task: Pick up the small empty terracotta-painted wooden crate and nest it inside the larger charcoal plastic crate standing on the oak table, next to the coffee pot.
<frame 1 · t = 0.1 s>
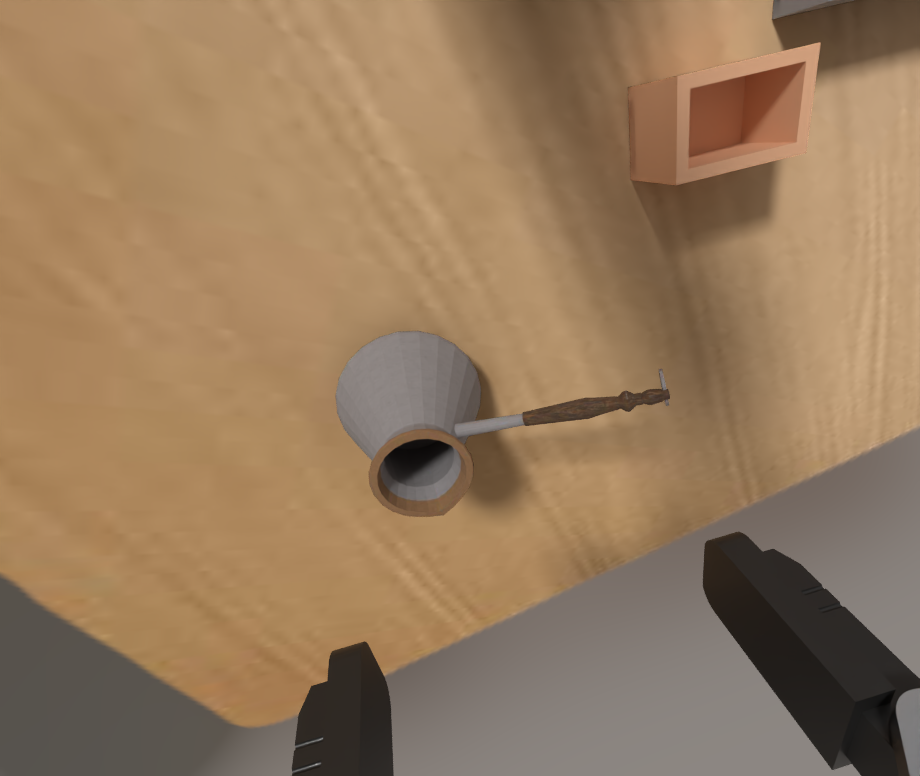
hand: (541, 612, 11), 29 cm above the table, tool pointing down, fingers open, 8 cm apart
terracotta crate: (687, 121, 34), on the table
coffee pot: (460, 360, 40), on the table
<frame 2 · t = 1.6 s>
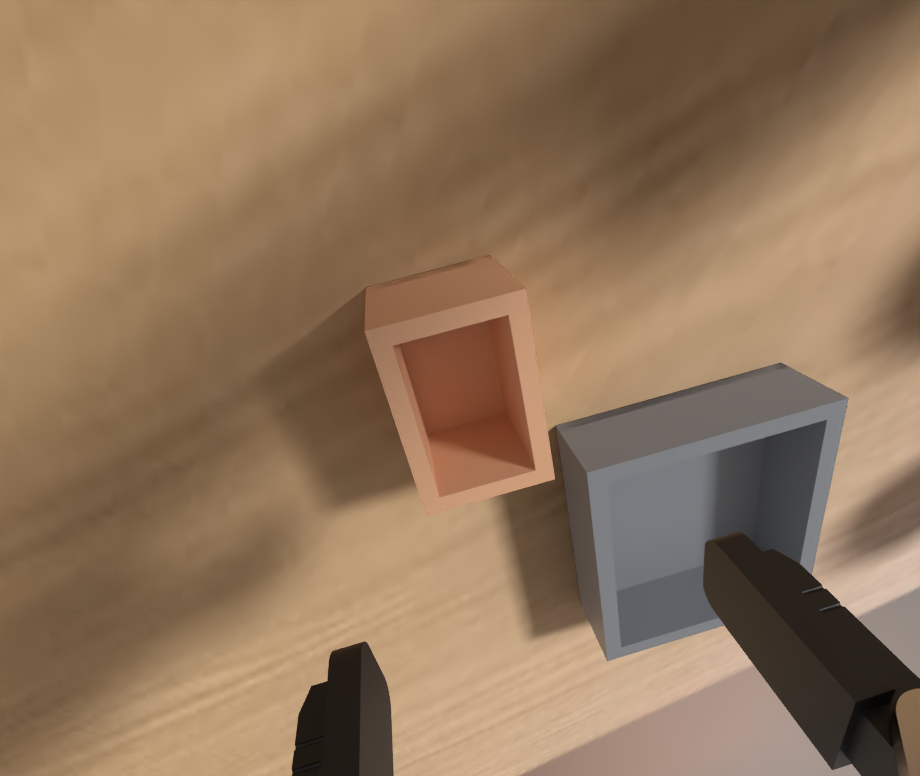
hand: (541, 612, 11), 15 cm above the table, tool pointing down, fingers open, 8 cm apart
grey crate: (670, 496, 32), on the table
terracotta crate: (449, 356, 24), on the table
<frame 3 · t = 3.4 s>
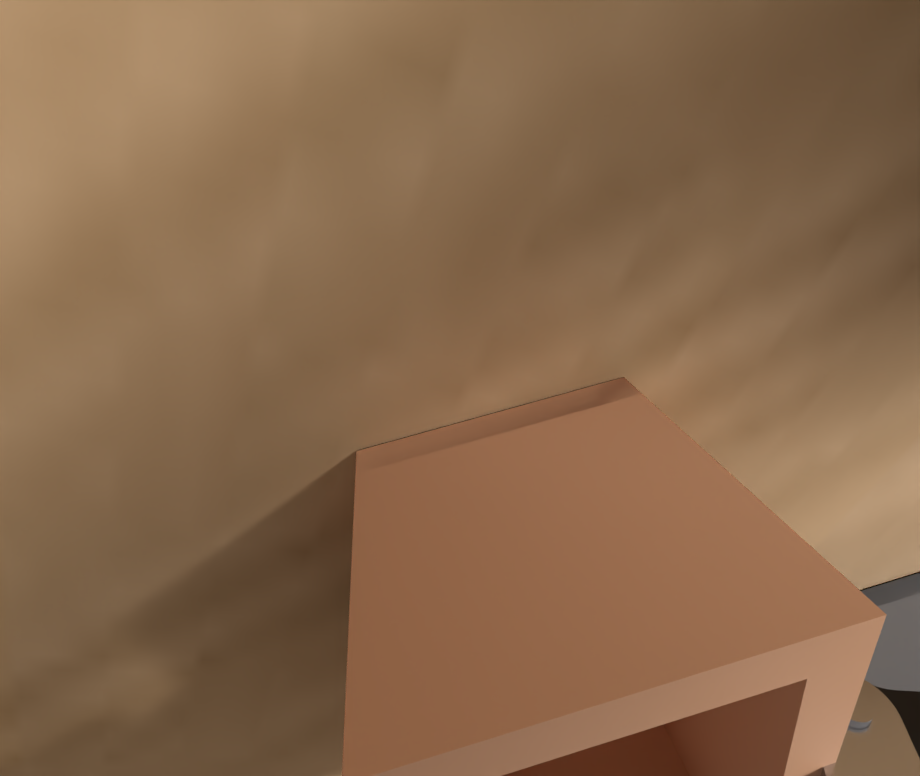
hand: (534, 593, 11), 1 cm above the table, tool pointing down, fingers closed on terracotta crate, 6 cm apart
grey crate: (849, 709, 20), on the table
terracotta crate: (522, 557, 12), on the table, touching gripper
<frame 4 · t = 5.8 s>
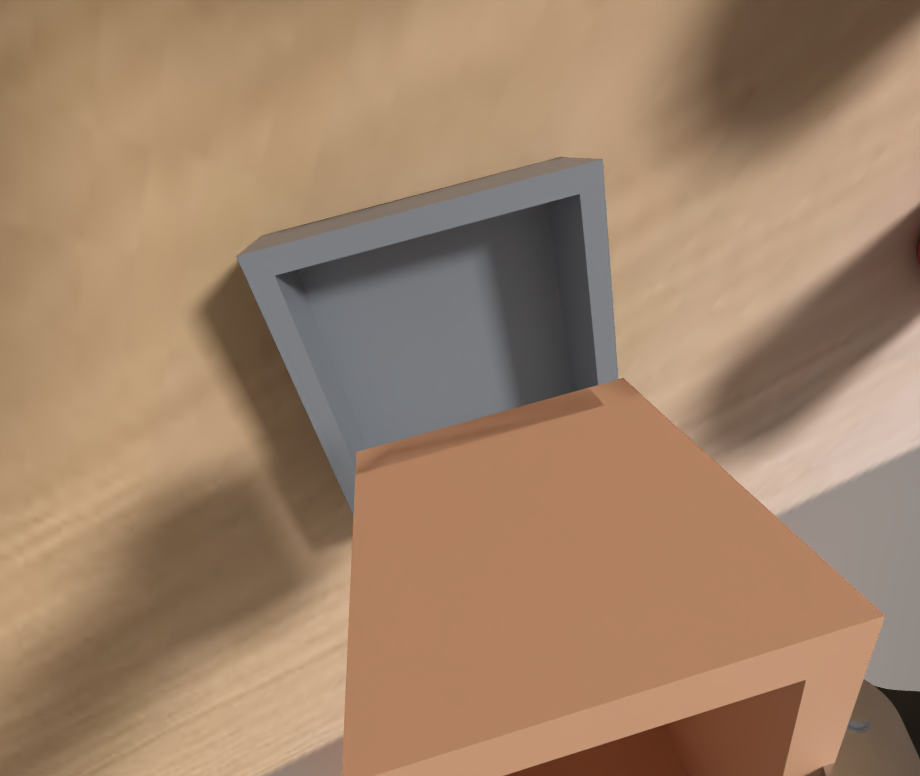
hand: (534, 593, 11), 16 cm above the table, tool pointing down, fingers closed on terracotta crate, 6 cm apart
grey crate: (453, 352, 25), on the table
terracotta crate: (522, 557, 12), point 14 cm above the table, touching gripper
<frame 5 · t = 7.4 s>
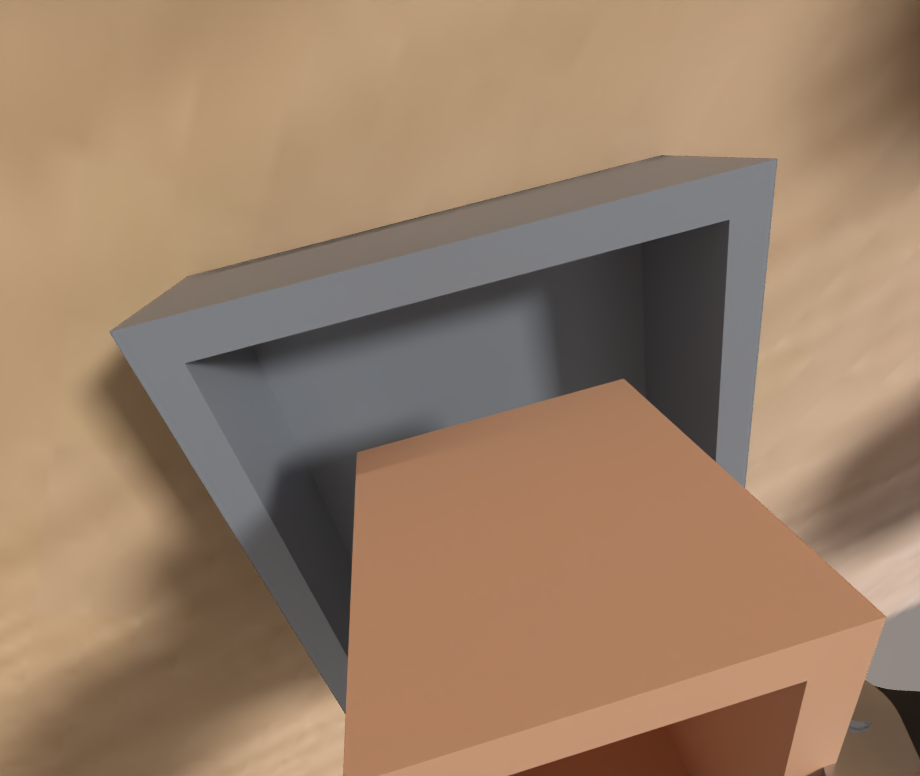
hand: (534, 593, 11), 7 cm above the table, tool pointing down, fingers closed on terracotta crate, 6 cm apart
grey crate: (482, 439, 17), on the table
terracotta crate: (522, 558, 12), point 6 cm above the table, touching gripper
when the fingers open (4 cm above the table, at t = 8.5 s): terracotta crate drops 2 cm, resting on grey crate.
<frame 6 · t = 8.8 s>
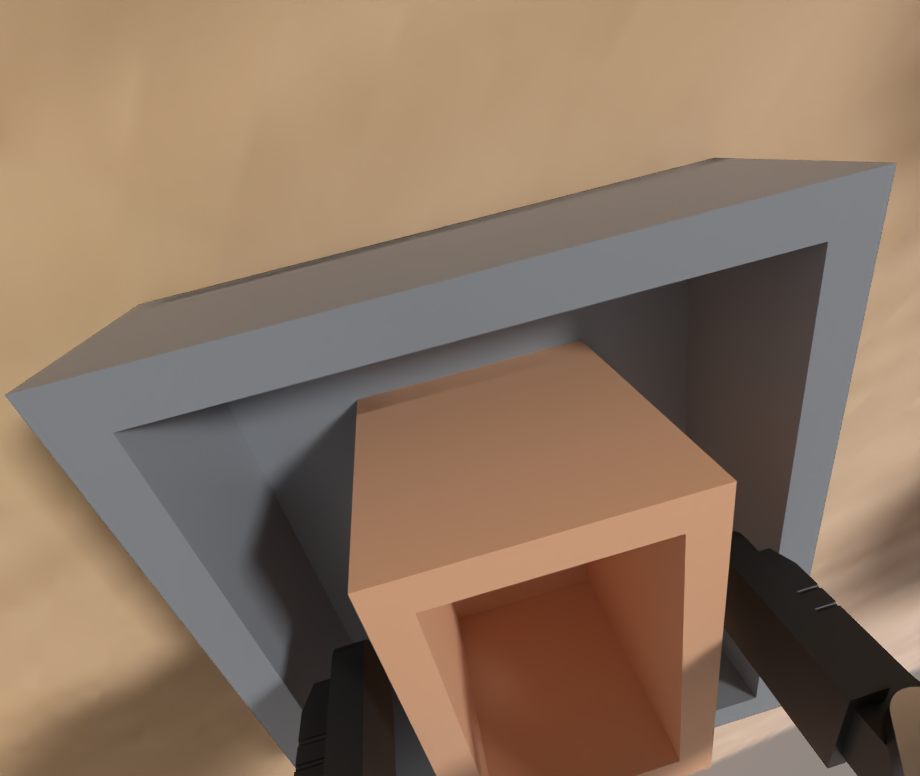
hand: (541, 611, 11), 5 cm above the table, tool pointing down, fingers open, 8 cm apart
grey crate: (495, 486, 15), on the table
terracotta crate: (499, 499, 14), point 1 cm above the table, touching grey crate
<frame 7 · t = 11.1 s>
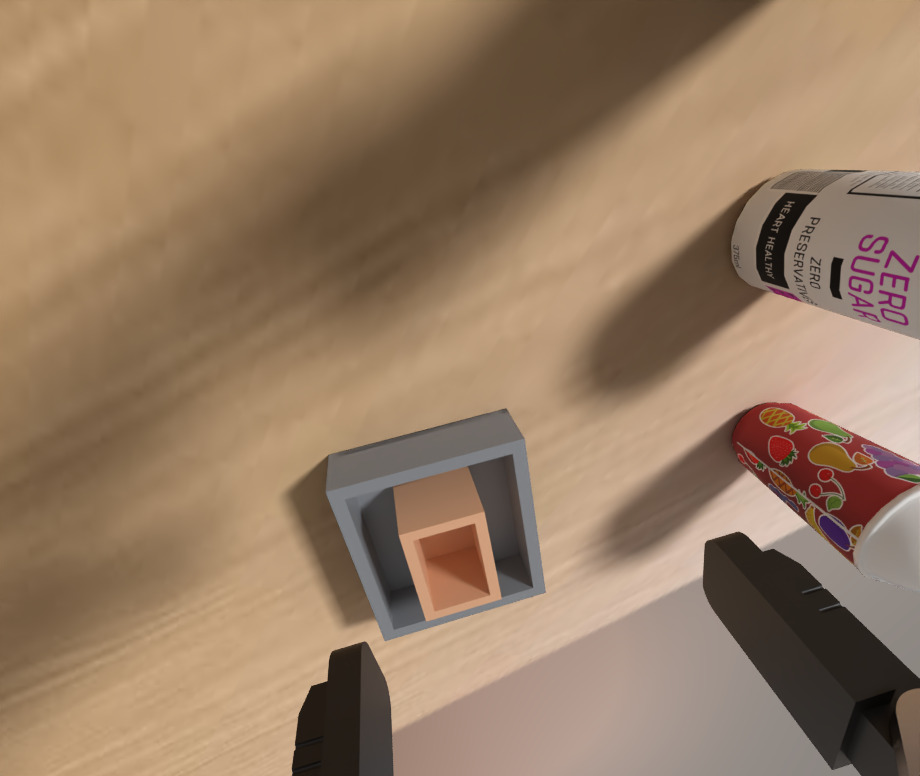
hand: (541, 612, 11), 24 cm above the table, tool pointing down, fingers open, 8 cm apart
supplement can: (772, 230, 35), on the table
grey crate: (439, 509, 40), on the table
smoothie: (757, 428, 44), on the table
terracotta crate: (440, 514, 40), point 1 cm above the table, touching grey crate
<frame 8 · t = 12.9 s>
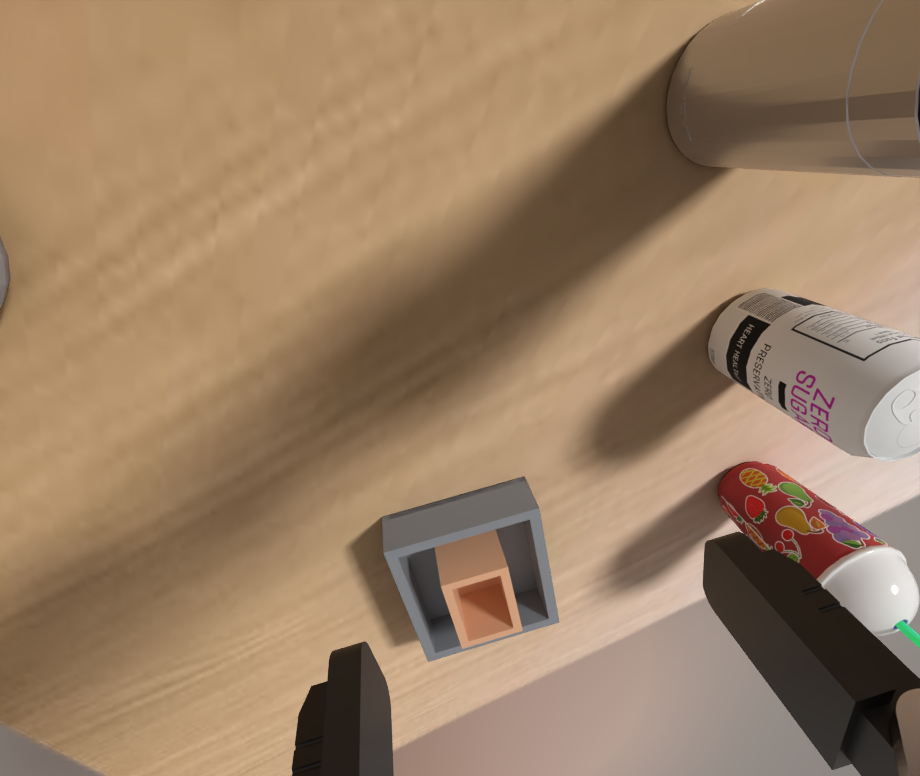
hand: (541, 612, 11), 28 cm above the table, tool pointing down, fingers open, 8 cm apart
supplement can: (744, 330, 42), on the table
grey crate: (470, 554, 49), on the table
smoothie: (740, 481, 51), on the table
terracotta crate: (471, 559, 48), point 1 cm above the table, touching grey crate
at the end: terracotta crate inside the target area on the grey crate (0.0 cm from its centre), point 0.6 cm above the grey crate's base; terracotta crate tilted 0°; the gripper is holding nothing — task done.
